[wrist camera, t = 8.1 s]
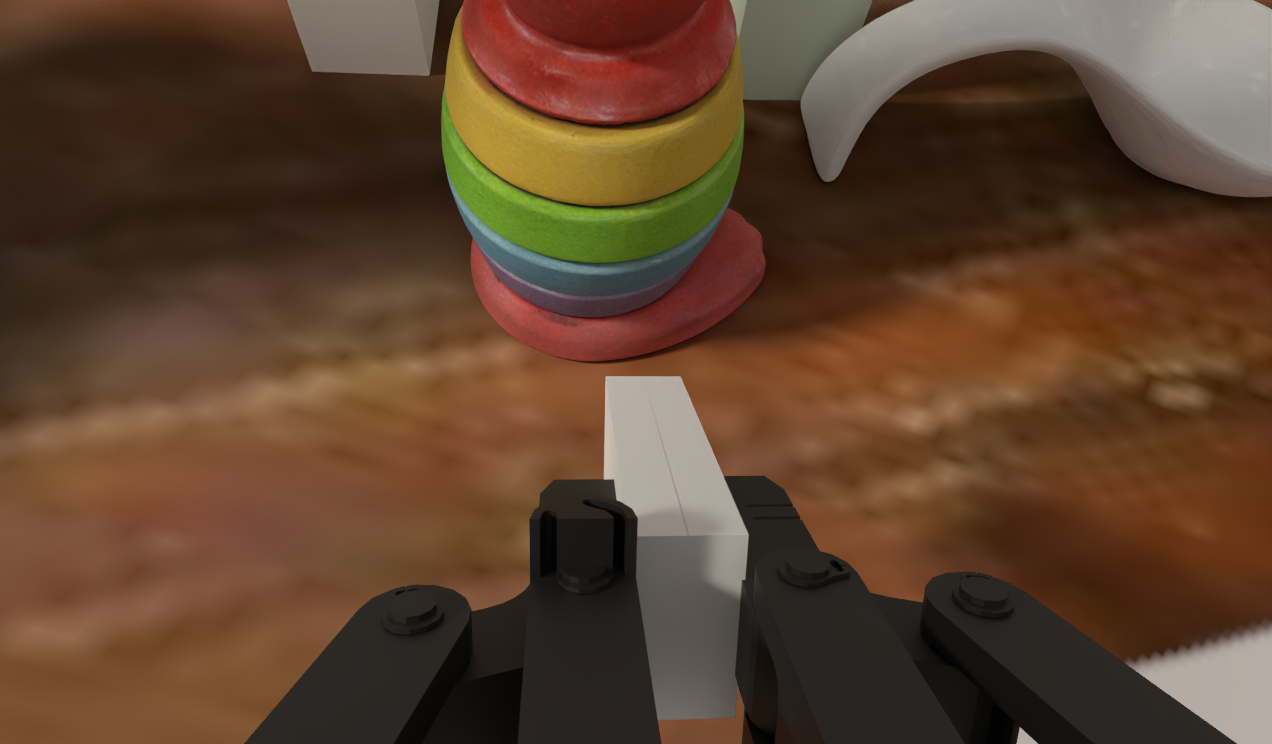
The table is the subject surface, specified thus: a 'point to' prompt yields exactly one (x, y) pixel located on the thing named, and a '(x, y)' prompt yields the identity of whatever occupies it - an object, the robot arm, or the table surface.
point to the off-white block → (367, 35)
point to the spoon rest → (1082, 77)
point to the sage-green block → (790, 41)
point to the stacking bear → (600, 169)
